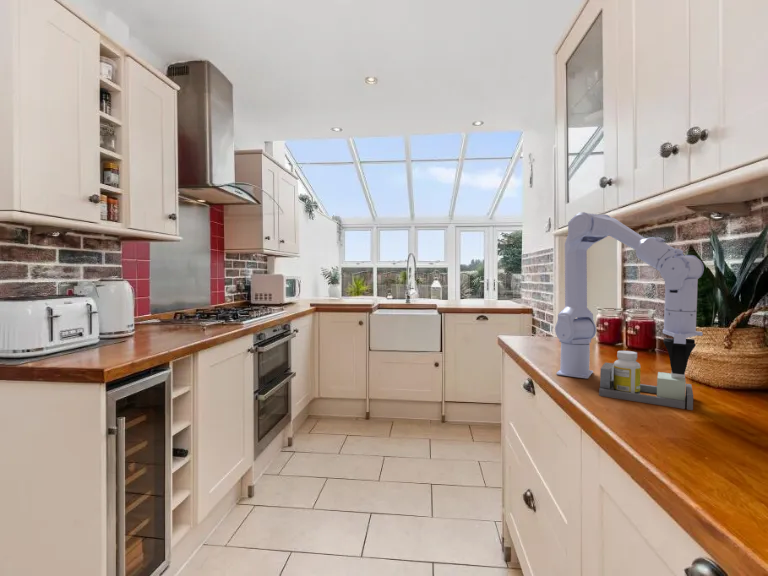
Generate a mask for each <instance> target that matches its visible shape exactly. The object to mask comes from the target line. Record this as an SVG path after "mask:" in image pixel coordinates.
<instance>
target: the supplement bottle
mask: <svg viewBox="0 0 768 576" xmlns="http://www.w3.org/2000/svg"><path fill="white" fill-rule="evenodd" d="M616 357H617V359H616V360H615V361H614V362H613V363H614V379H613V380H614V381H613V390H616V391H623V392H630V393H636V394H641V391H640V384H641V363H639V362H638V361H637V360H638V352H637V351H631V350H618V351H617V354H616Z"/></svg>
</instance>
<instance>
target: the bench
mask: <svg viewBox="0 0 768 576" xmlns="http://www.w3.org/2000/svg"><path fill="white" fill-rule="evenodd" d="M599 374H600V378H599V382H600V383H599V389H598V396H599V397H605V398H611V399H612V398H613V399H619V400H626V401H632V402H638V403H643V404H651V405H656V406H663V407H669V408H670V407H671V408H676V409H682V410H685V409H686V410H688V411H689V410H690V411H693V410H694V392H693V386H692V384H691V383H686V386H685V401H684V400H677V399H670V398H664V397H657V385H651V384H650V385H649V384H645V383H640V392H644V393H651V394H656V396H654V395H649V394H642V393H640V394H636V393H630V392H623V391H616V390H613V381H614V380H613V379H614V362H604V364H603V365H602V366H601V367H600V372H599Z"/></svg>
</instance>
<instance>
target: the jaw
mask: <svg viewBox="0 0 768 576" xmlns="http://www.w3.org/2000/svg"><path fill="white" fill-rule="evenodd" d="M670 371H671V372H670V373H669V372H663V371H662V372H660V371H658V372H657V377H656V378H657V379H656V386H657V394H656V396H657V397H664V398H670V399H677V400H684V401H685V402H686V398H685V393H686V384H687V383H686V372H685V373H684V375H682V374H674V373H672V370H670Z"/></svg>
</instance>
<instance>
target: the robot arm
mask: <svg viewBox="0 0 768 576" xmlns="http://www.w3.org/2000/svg"><path fill="white" fill-rule="evenodd" d="M567 224H568V225H567V231H568V232H567V236H566V239H565V242H564V308H563V309H562V310H561V311H560V312H559V313H557V321H556V324H555V328H554V331H555V336H556V337H557V339H558V341H559V343H560V364H559V365H560V369H559V370H558V371H557V372H556V373H555V374H556V375H558V376H563V377H572V378H579V379H586V380H587V379H589V378H590V377H591V375H592V374H593V373H594V370H593V369H592V370H591V369H590V361H591V360H590V359H591V358H590V356H591V354H590V353H591V351H590V345H591V343H592V339H593V338H594V337H595V336H596V335H597V334H596V333H597V326H596V323H595V320H594V314H593V313H592V312H591V310H590V309H589V308H588V271H587V270H588V266H587V265H588V263H587V262H588V261H587V259H588V257H587V255H588V254H587V252H588V250H589V249H590V248H591V247H592V246H593V245H594V244H596V243H598V242H600V241H602V240H604V239H606V238H608V236H609V237H611V238H613V239H614V240H616V241H619V242H620V243H622V244H624V245H625V246H627V247H629V248H631V249H633V250H634V251H635V255H636V258H637V259H638V260H641V261H642V262H643V263H645V264H646V265H648V266H650V267H651V268H653V269H655V270H657V271H658V272H659V274H660V276H661V278H662V279H663V282H664V287H665V288H664V289H665V290H664V311H663V312H664V315H663V316H664V317H663V329H662V334H664V335H667V336H670V337H672V338H670V337H669V338H668V337H666V338H665V337H664V338H663V344H664V346H665V348H666V351H667V353H668V357H669V362H670V363H669V364H670V369H671V370H672V373H674V374H682V375H684V373H685V374H686V370H687V366H688V362H689V359H690V357H691V353H692V352H693V350H694V349H695V347H696V345H697V344H696V342H695V341H696V340H695V339H694V338H693V337H697V336H700V337H701V336H703V331H697V312H698V311H697V309H698V308H697V307H698V284H699V283H698V279H700V278H702V276H703V274H704V269H705V266H704V264H703V261H702V260H701V259H699V258H698V257H697V256H696V255H693V254H685V255H684V250H683V249H681V248H675V247H673V246H671V245H669V244H668V243H666V242H665V241H666V239H664V238H662V237H660V236H659V237H658V236H657V237H654V236H651V237H647V238H646V237H644V236H643V235H641V234H639V233H638V232H636V231H634V230H633V229H631V228H630V227H628V226H627V225H625V224H624V223H622V222H621V221H620V220H618V219H617V218H616V217H615V218H614V217H611V216H610V215H608V214H597V213H588V212H585V211H581V212H580V211H579V212H578V213H576V214H575V215H573V217H572V218H570V220H569V221H568V223H567ZM691 337H692V339H691ZM671 370H670V371H671Z"/></svg>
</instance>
